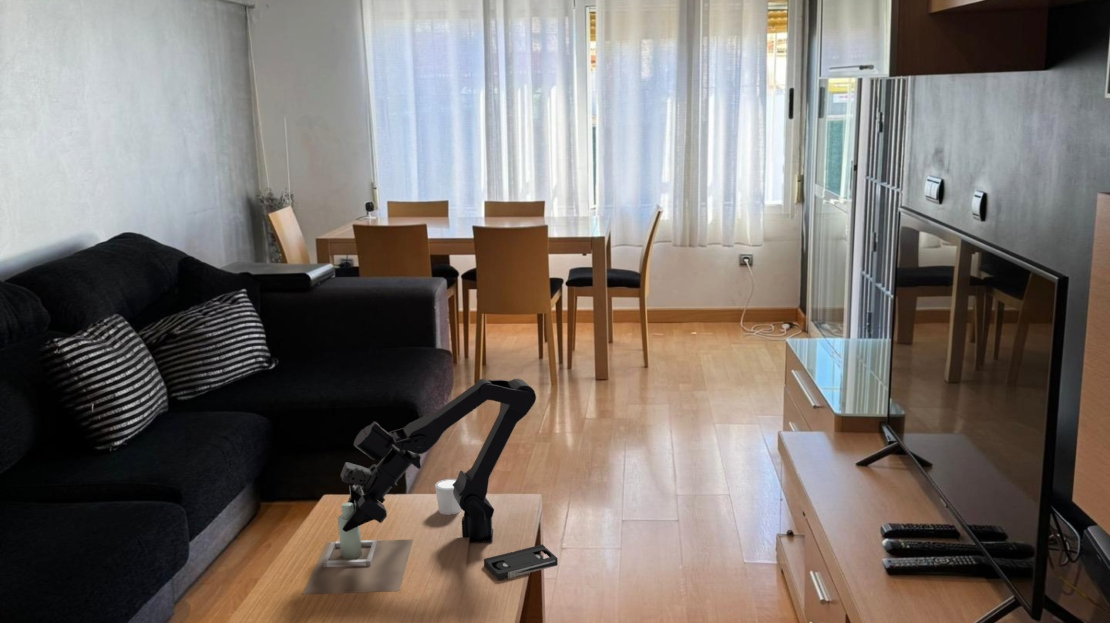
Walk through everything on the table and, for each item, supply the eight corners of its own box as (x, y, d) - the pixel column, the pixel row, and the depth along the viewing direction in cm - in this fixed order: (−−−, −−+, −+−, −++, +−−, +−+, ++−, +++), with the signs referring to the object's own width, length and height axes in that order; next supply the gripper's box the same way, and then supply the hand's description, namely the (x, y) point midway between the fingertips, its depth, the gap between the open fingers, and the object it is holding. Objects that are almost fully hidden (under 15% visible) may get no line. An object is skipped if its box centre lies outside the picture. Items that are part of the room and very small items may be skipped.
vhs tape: (498, 582, 209) (498, 573, 209) (484, 567, 216) (483, 558, 216) (558, 566, 216) (558, 558, 215) (542, 552, 222) (542, 544, 222)
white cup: (466, 504, 249) (465, 478, 247) (461, 516, 242) (459, 489, 240) (439, 504, 249) (438, 478, 248) (433, 515, 243) (432, 489, 241)
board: (413, 543, 228) (412, 535, 227) (399, 595, 204) (398, 586, 204) (326, 546, 228) (325, 538, 227) (302, 598, 204) (301, 590, 204)
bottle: (366, 552, 222) (361, 502, 219) (353, 561, 218) (349, 510, 215) (349, 548, 224) (345, 499, 221) (336, 557, 220) (332, 507, 217)
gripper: (355, 437, 225) (309, 490, 224) (367, 465, 208) (318, 522, 207) (392, 464, 229) (347, 516, 228) (406, 494, 212) (359, 550, 211)
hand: (342, 525), depth 219 cm, fingers open, 5 cm apart
